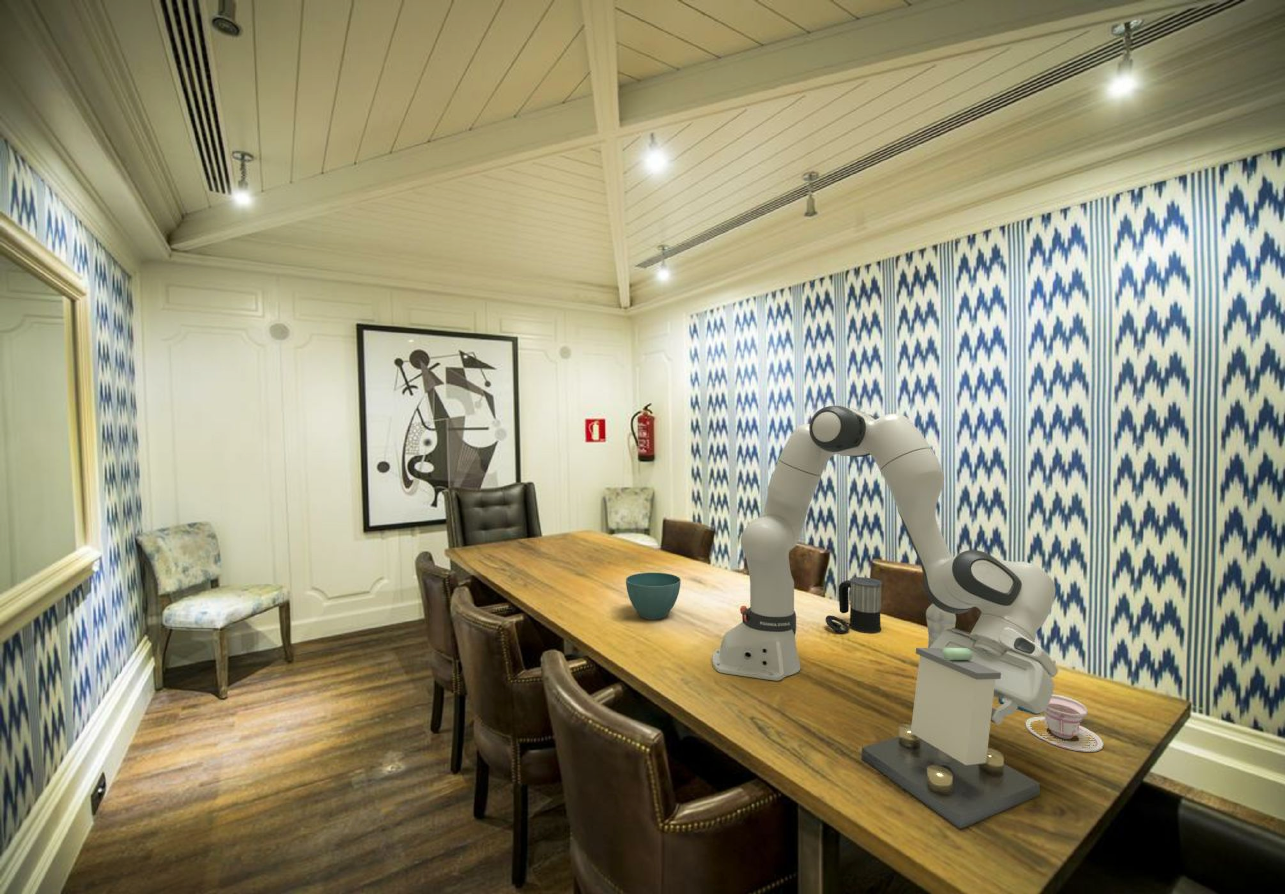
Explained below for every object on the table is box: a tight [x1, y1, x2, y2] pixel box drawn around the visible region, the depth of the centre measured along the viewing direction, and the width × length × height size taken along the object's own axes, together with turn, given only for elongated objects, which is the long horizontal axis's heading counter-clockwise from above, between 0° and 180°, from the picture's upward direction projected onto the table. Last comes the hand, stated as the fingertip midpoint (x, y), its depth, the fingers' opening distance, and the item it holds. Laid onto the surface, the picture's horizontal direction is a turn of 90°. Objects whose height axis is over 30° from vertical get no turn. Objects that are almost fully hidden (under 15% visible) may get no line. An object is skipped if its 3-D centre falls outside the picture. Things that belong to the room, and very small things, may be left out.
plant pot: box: [625, 572, 682, 620], centre depth 174 cm, size 18×18×12 cm
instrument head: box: [911, 647, 1001, 765], centre depth 91 cm, size 6×11×20 cm, turn 23°
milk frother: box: [825, 576, 883, 634], centre depth 161 cm, size 14×16×15 cm
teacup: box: [1025, 693, 1105, 753], centre depth 103 cm, size 12×12×6 cm
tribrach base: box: [861, 723, 1041, 830], centre depth 91 cm, size 19×19×4 cm
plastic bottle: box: [925, 602, 957, 648], centre depth 130 cm, size 6×7×20 cm
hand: (964, 708), depth 92 cm, fingers open, 8 cm apart
